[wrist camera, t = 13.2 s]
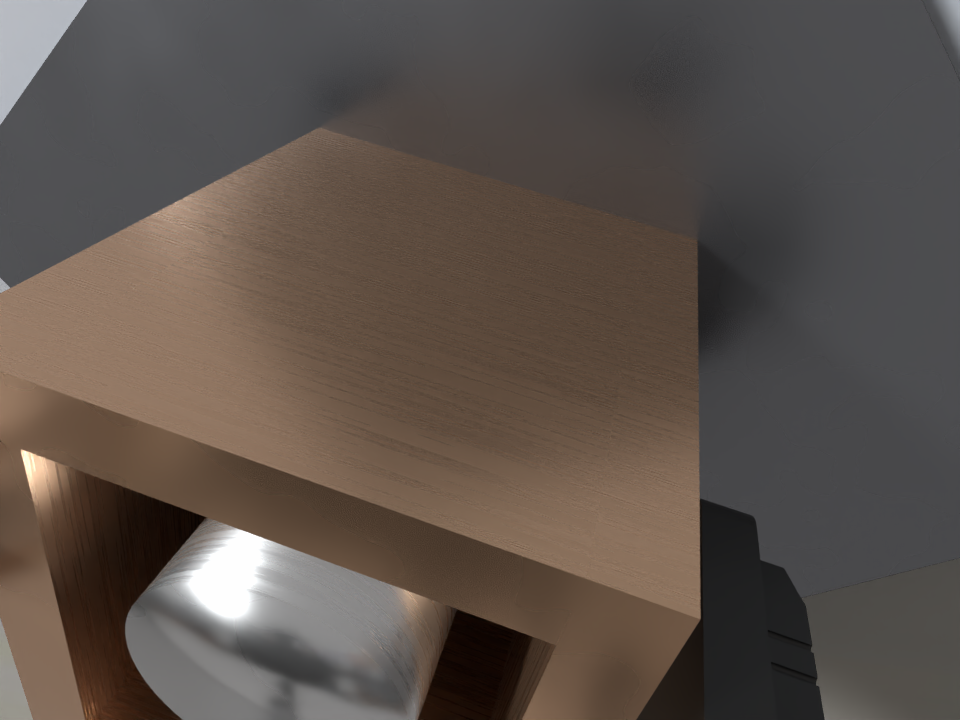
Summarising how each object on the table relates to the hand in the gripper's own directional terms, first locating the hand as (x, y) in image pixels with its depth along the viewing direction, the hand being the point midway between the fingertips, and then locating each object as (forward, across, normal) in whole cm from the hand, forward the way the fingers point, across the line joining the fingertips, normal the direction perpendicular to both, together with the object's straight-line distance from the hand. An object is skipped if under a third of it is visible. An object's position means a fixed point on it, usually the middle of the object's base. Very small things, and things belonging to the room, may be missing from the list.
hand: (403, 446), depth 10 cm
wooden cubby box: (+3, 0, 0) cm, 3 cm away
